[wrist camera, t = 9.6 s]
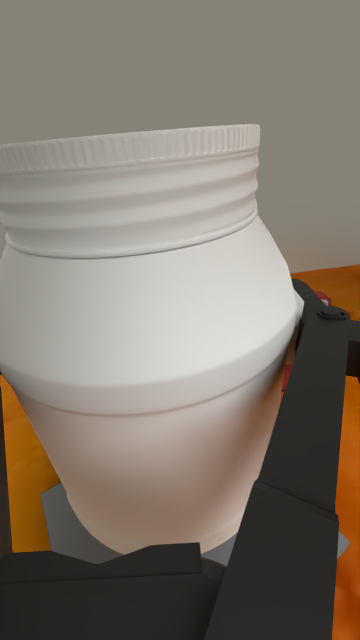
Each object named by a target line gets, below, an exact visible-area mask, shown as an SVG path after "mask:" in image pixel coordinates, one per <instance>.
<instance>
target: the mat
mask: <svg viewBox="0 0 360 640" xmlns="http://www.w3.org/2000/svg"><path fill="white" fill-rule="evenodd" d="M41 499H42V504H43V509H44V515H45V520H46V525H47V530H48V535H49V541H50V546H51V551H54V552H57V553H60V554H64V555H67V556H70V557H74V558H77V559H81V560H84V561H87V562H91V563H95V564H100V563H104V562H106V561H109V560H112V559H115V558H117V557H120V556H123V555H124V554H121V553H119V552H116V551H114V550H112V549H111V548H109V547H107V546H105V545H104V544H102V543H101V542H100V541H98V540H97V539H96V538H95V537H94V536H92V535H91V534H90V533H89V532H88V531H87V529H86V528H85V527H84V526H83V525H82V523H81V522H80V521H79V519H78V518H77V516H76V514H75V512H74V511H73V509H72V507H71V505H70V503H69V501H68V499H67V492H66V490H65V488H64V486H63V484H62V482H61V483H60V484H58V485H56V486H54V487H52V488H50V489H49V490H47V491H45V492H43V493H41ZM237 533H238V532H237ZM237 533H236V534H235V535H233V536H232V537H231V538H230V539H228V540H227V541H225V542H224V543H222V544H221V545H219V546H217V547H215V548H213V549H211V550H209V551H207V552H204V553H202V554H201V557H205V558H208V559H211V560H214V561H216V562H219V563H221V564H223V565H225V566H227V565H228V562H229V558H230V555H231V552H232V549H233V546H234V543H235V539H236V536H237ZM349 543H350V542H349V541H348V540H347V539H346V538H345V537H344V536H343V535H342V534H341V533H340V532H339V537H338V552H337V559H338V558H339V557H340V555H341V554H342V553H343V552H344V551H345V550H346V549H347V547H348V545H349ZM201 562H202V561H201Z"/></svg>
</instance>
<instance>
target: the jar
mask: <svg viewBox="0 0 360 640" xmlns="http://www.w3.org/2000/svg"><path fill="white" fill-rule="evenodd" d="M259 145H260V126H259V125H258V124H243V125H224V126H210V127H196V128H182V129H169V130H156V131H144V132H131V133H120V134H108V135H96V136H86V137H74V138H63V139H53V140H42V141H31V142H21V143H12V144H3V145H0V222H1V223H2V225H4V227H5V229H6V230H7V233H6V235H5V239H6V242H7V244H6V247H5V249H4V252H3V255H2V258H1V261H0V372H1V374H2V375H3V377H4V378H5V379H6V380H7V381H8V382H9V383H10V384H11V386H12V388H13V390H14V392H15V394H16V396H17V398H18V400H19V402H20V404H21V406H22V407H23V409H24V411H25V413H26V415H27V417H28V419H29V421H30V423H31V425H32V427H33V429H34V431H35V432H36V434H37V436H38V438H39V440H40V442H41V444H42V446H43V448H44V450H45V452H46V454H47V455H48V457H49V459H50V461H51V463H52V465H53V467H54V469H55V471H56V473H57V475H58V477H59V479H60V480H61V482H62V484H63V486H64V488H65V490H66V492H67V499H68V501H69V503H70V505H71V507H72V509H73V511H74V512H75V514H76V516H77V518H78V519H79V521H80V522H81V523H82V525H83V526H84V527H85V528H86V529H87V531H88V532H89V533H90V534H91V535H92V536H94V537H95V538H96V539H97V540H98V541H100V542H101V543H102V544H104V545H105V546H107V547H109V548H111V549H112V550H114V551H116V552H119V553H121V554H124V555H125V554H128V553H131V552H134V551H136V550H139V549H142V548H144V547H147V546H150V545H160V544H177V543H195V542H200V550H201V554H202V553H204V552H207V551H209V550H211V549H213V548H215V547H217V546H219V545H221V544H222V543H224V542H225V541H227V540H228V539H230V538H231V537H232V536H233V535H235V534H236V533H237V532H238V530H239V527H240V523H241V520H242V517H243V514H244V511H245V507H246V504H247V501H248V498H249V495H250V492H251V489H252V486H253V484H254V482H255V480H257V478H258V476H259V473H260V470H261V467H262V463H263V460H264V457H265V454H266V450H267V447H268V444H269V440H270V437H271V434H272V431H273V427H274V424H275V421H276V417H277V414H278V411H279V405H280V398H281V391H282V385H283V378H284V372H285V365H286V359H287V352H288V346H289V342H290V340H291V338H292V335H293V332H294V327H295V320H296V314H297V302H296V298H295V293H294V289H293V285H292V281H291V277H290V273H289V269H288V266H287V263H286V261H285V260H284V258H283V256H282V254H281V253H280V251H279V249H278V247H277V245H276V244H275V242H274V240H273V238H272V236H271V235H270V233H269V231H268V230H267V228H266V227H265V225H264V224H263V222H262V221H261V219H260V218H259V216H258V214H257V213H258V209H257V202H256V198H255V192H256V190H257V187H258V182H257V179H256V172H257V169H258V167H259V160H258V156H257V152H258V149H259Z"/></svg>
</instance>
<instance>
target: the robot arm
mask: <svg viewBox="0 0 360 640" xmlns="http://www.w3.org/2000/svg"><path fill="white" fill-rule="evenodd" d="M291 281H292V285H293V289H294V293H295V298H296V302H297V314H296V320H295V327H294V332H293V335H292V338H291V340H290V342H289V346H288V352H287V359H286V364H293V365H292V368H291V372H290V375H289V378H288V381H287V385H286V388H285V391H284V395H283V398H282V401H281V404H280V408H279V411H278V414H277V417H276V421H275V424H274V427H273V431H272V434H271V437H270V440H269V444H268V447H267V450H266V454H265V457H264V460H263V463H262V467H261V470H260V473H259V476H258V478H257V480H255V482H254V484H253V486H252V489H251V492H250V495H249V498H248V501H247V504H246V507H245V511H244V514H243V517H242V520H241V523H240V527H239V530H238V533H237V536H236V539H235V543H234V546H233V549H232V552H231V555H230V558H229V562H228V565H227V566H225V565H223V564H221V563H219V562H216V561H214V560H211V559H208V558H205V557H201V550H200V542H195V543H177V544H160V545H150V546H147V547H144V548H142V549H139V550H136V551H134V552H131V553H128V554H125V555H123V556H120V557H117V558H115V559H112V560H109V561H106V562H104V563H100V564H95V563H91V562H87V561H84V560H81V559H77V558H74V557H70V556H67V555H64V554H60V553H57V552H54V551H37V552H20V553H13V551H12V540H11V526H10V511H9V497H8V483H7V468H6V454H5V440H4V425H3V411H2V397H1V387H0V640H332V626H333V611H334V596H335V582H336V567H337V552H338V537H339V520H338V515H337V514H336V513H335V499H336V487H337V475H338V462H339V450H340V438H341V426H342V414H343V402H344V390H345V378H346V376H352V377H358V381H359V384H360V321H354V320H350V315H349V314H348V313H347V312H346V311H345V310H342V309H340V308H338V307H334V306H326V305H325V304H324V303H323V301H322V300H321V299H320V298H319V297H318V296H317V295H315V293H314V292H313V291H312V290H311V288H310V287H309V286H308V285H307V284H306V283H304V282H302V281H300V280H298V279H291ZM295 353H296V355H295ZM0 374H1V372H0ZM6 381H7V380H6ZM7 382H8V381H7ZM8 383H9V382H8ZM201 561H202V562H201Z"/></svg>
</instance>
